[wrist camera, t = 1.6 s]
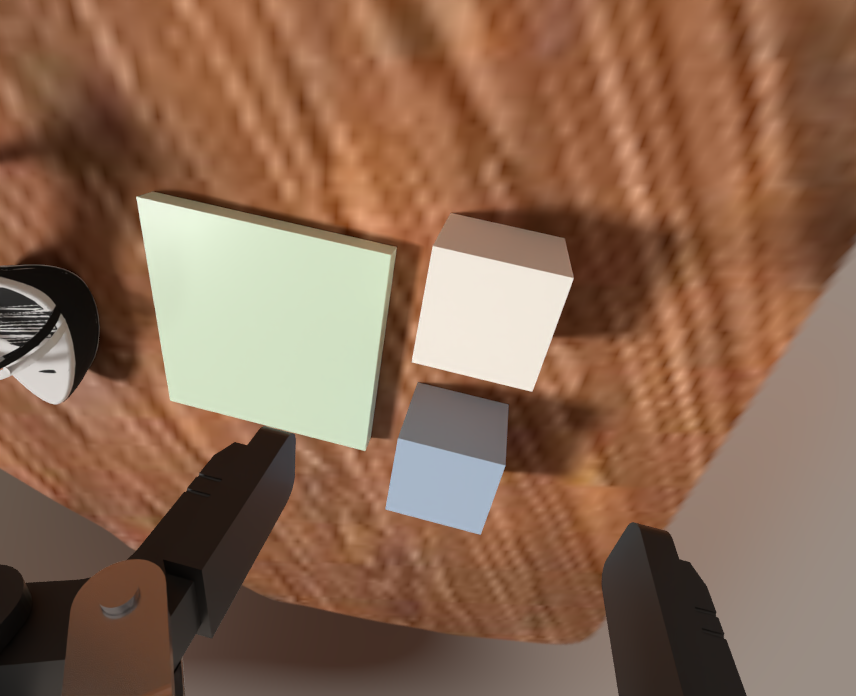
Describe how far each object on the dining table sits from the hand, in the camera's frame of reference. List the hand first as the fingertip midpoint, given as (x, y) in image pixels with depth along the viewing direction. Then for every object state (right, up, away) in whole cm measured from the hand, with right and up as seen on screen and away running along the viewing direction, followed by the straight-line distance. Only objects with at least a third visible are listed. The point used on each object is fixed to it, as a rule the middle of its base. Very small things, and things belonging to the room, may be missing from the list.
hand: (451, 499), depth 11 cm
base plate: (-10, +5, +16) cm, 19 cm away
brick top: (+1, -1, +17) cm, 17 cm away
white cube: (+3, +7, +12) cm, 14 cm away
